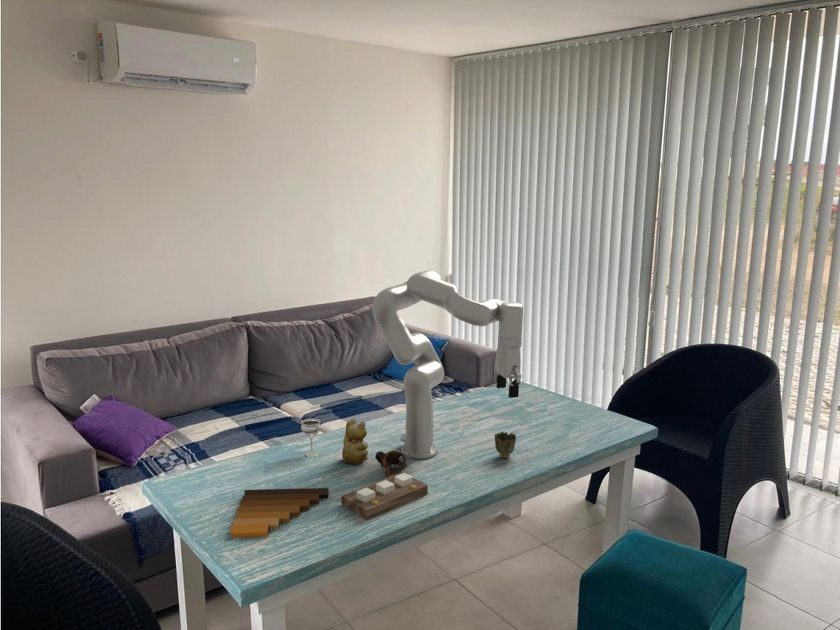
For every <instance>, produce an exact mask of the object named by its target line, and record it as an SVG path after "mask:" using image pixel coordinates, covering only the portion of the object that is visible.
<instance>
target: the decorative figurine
mask: <svg viewBox="0 0 840 630" xmlns="http://www.w3.org/2000/svg"><path fill="white" fill-rule="evenodd" d="M367 434H368V431H367V428H366V421H363V420H362V421H360V422H358V423H357V419H356V418H355V417H351V419H349V420H347V422H346V424H345V434H344V437H343V441H342V442H343V447H342V454H341V455H342V459H343V461H344V462H347V463H349V464H352V465H357V464H361V463H363V462H365V461H366V460H368V459H369V456H368V454H369V450H368V447H369V444H368V443H367V442H364V439H365V438H366V437H367Z"/></svg>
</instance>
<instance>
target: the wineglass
mask: <svg viewBox="0 0 840 630" xmlns="http://www.w3.org/2000/svg"><path fill="white" fill-rule="evenodd" d="M300 423H301V428H300V430H301V432H302V434H303V435H305V436H307V437H309V439H310V440H309V441H310V451H307V452H305V453H306V454H305V453H304V456H305V455H306V456H307V458H314V456H315V457H318V456H319V455H318V453H319V452H317V451H313V438H314V437H315V436H317V435H318V434H319V433H320V432H321V429H322V428H321V427H322V426H321V424H320V423H321V420H320V419H319V418H314V417H313V418H305V419H303V420H301V422H300ZM306 456H305V457H306Z"/></svg>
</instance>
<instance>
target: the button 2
mask: <svg viewBox="0 0 840 630" xmlns="http://www.w3.org/2000/svg"><path fill="white" fill-rule="evenodd" d="M402 473H403V474H400V475H397V476H395V484H397V485H399V486H401V487H406V486H408V485H411V484H413V478H414V477H413V476H412V475H410V474H408V473H405V472H402Z"/></svg>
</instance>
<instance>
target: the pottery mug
mask: <svg viewBox="0 0 840 630" xmlns="http://www.w3.org/2000/svg"><path fill="white" fill-rule="evenodd" d="M374 457H375V459H376V461H377V462H378V463H379V464H380V467H381V468H384V473H383V474H384V476H385V477H386V478H389V477H390V476H394V475H396V474H399V473H401V472H404V470H405V469H406V468H408V467H409V466H408V463H407V461H408V459H407V458H408V457H406V456H405V455H404V454H403V453H402V451H399V450H395V449H394V450H389V451H387V452H386V453H385V452H384V451H377V452H376V453H375V456H374ZM400 457H402V460H401V459H400Z"/></svg>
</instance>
